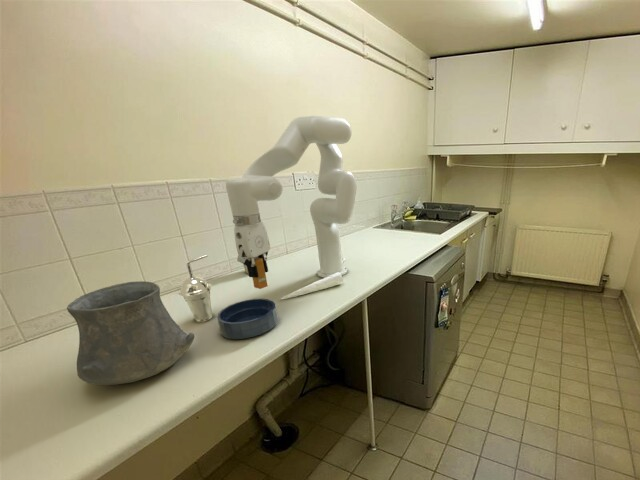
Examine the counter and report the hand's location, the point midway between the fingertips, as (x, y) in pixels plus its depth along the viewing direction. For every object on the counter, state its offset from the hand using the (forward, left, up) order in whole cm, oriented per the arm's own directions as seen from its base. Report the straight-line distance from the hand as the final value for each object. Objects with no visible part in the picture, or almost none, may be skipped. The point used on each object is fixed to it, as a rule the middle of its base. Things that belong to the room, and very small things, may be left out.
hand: (258, 273), depth 103 cm
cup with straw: (+13, -12, -11) cm, 21 cm away
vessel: (+36, -5, -11) cm, 38 cm away
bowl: (+14, +6, -11) cm, 19 cm away
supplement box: (0, 0, -5) cm, 5 cm away
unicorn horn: (-13, +12, -11) cm, 21 cm away
